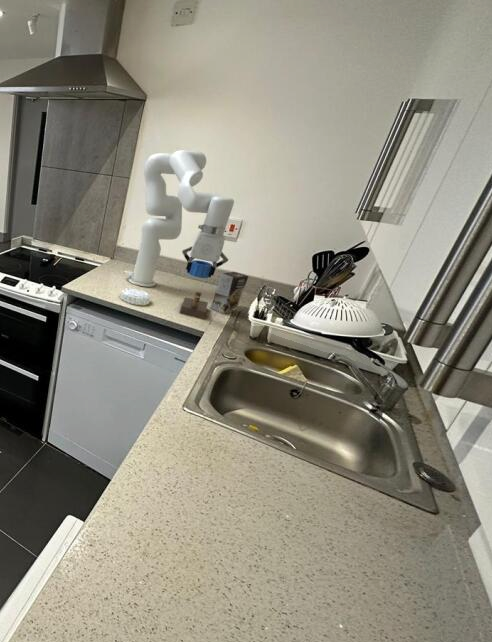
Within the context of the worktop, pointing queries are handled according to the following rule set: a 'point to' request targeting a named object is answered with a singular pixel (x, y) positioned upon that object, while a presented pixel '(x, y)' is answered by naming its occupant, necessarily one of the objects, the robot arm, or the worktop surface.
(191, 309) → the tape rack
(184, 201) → the robot arm
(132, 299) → the mooncake
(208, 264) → the blue ribbed cylinder
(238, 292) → the coffee box
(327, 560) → the worktop surface
